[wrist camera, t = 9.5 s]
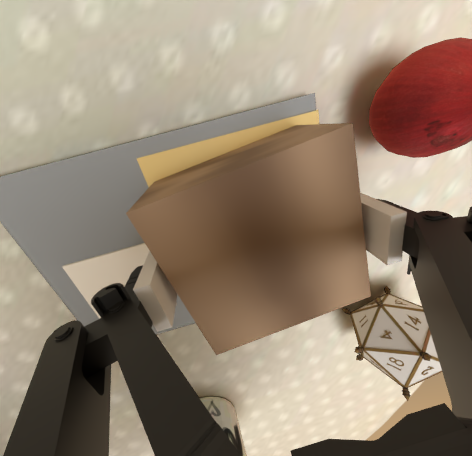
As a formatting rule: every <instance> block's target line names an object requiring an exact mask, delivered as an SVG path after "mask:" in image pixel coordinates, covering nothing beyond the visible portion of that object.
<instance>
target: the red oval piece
mask: <svg viewBox="0 0 472 456" xmlns="http://www.w3.org/2000/svg"><path fill="white" fill-rule="evenodd" d="M369 125H370V128H371V131H372V134H373V136H374V137H375V139H376V140H377V141H378V142H379V143H380V144H381V145H382V146H383V147H384V148H385V149H386V150H387V151H389V152H392V153H395V154H398V155H404V156H409V157H428V156H432V155H436V154H440V153H443V152H446V151H449V150H452V149H455V148H458V147H460V146H462V145H464V144H467V143H468V142H470V141H471V140H472V39H466V38H455V39H449V40H444V41H441V42H438V43H435V44H432V45H429V46H426V47H424V48H422V49H420V50H418V51H416V52H414V53H412V54H411V55H410V56H408V57H407V58H406V59H404V60H403V61H402V62H401V63H399V64H398V65H397V66H396V67H394V68H393V69H392V71H391V72H390V73H389V75H388V76H387V77H386V79H385V80H384V82H383V83H382V84H381V86H380V87H379V88H378V90H377V91H376V93H375V96H374V98H373V101H372V104H371V106H370V113H369Z"/></svg>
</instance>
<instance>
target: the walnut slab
mask: <svg viewBox="0 0 472 456" xmlns="http://www.w3.org/2000/svg"><path fill="white" fill-rule="evenodd" d="M126 214H127V216H128V218H129V219H130V221H131V222H132V224H133V225H134V227H135V228H136V230H137V232H138V233H139V235H140V236H141V238H142V239H143V241H144V243H145V244H146V246H147V247H148V249H149V250H150V252H151V254H152V255H153V257H154V258H155V260H156V261H157V263H158V264H159V266H160V268H161V269H162V271H163V272H164V274H165V275H166V277H167V279H168V280H169V282H170V283H171V285H172V286H173V288H174V289H175V291H176V293H177V294H178V296H179V297H180V299H181V300H182V302H183V304H184V305H185V307H186V308H187V310H188V311H189V313H190V315H191V316H192V318H193V319H194V321H195V322H196V324H197V325H198V327H199V329H200V330H201V332H202V333H203V335H204V336H205V338H206V340H207V341H208V343H209V344H210V346H211V347H212V349H213V350H214V352H215V354H216V355H218V354H220V353H223V352H226V351H228V350H231V349H234V348H236V347H239V346H241V345H244V344H247V343H249V342H252V341H255V340H257V339H260V338H263V337H265V336H268V335H270V334H273V333H276V332H278V331H281V330H284V329H286V328H289V327H292V326H294V325H297V324H300V323H302V322H305V321H307V320H310V319H313V318H315V317H318V316H321V315H323V314H326V313H329V312H331V311H334V310H336V309H339V308H342V307H344V306H347V305H350V304H352V303H355V302H358V301H360V300H363V299H365V298H368V297H371V293H370V283H369V274H368V264H367V255H366V245H365V236H364V226H363V217H362V207H361V198H360V188H359V178H358V169H357V159H356V150H355V140H354V131H353V123H342V124H315V125H295V126H293V127H290V128H288V129H285V130H283V131H280V132H278V133H275V134H273V135H270V136H268V137H265V138H263V139H260V140H258V141H255V142H253V143H250V144H248V145H245V146H243V147H240V148H238V149H235V150H233V151H230V152H228V153H225V154H223V155H220V156H218V157H215V158H213V159H210V160H208V161H205V162H203V163H200V164H198V165H195V166H193V167H190V168H188V169H185V170H183V171H180V172H178V173H175V174H173V175H170V176H168V177H165V178H163V179H160V180H158V181H155V182H154V183H153V184H152V185H151V186H150V187H149V188H148V189H147V190H146V192H145V193H144V194H143V195H142V196H141V197H140V198H139V199H138V200H137V201H136V203H135V204H134V205H133V206H132V207H131V208H130V209H129V210H128V211H127V213H126Z"/></svg>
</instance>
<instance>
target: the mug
mask: <svg viewBox="0 0 472 456" xmlns="http://www.w3.org/2000/svg"><path fill="white" fill-rule="evenodd" d="M200 400H201V401H202V403H203V404H204V405H205V407H206V408H207V410H208V411H209V413H210V414H211V416H212V417H213V418H214V420H215V421H216V423H218V424H219V425H220V427H221V428H222V429H223V431H224V432H225V433H226V435H227V436H228V438H229V439H230V441H231V442H232V443H233V445H234V446H235V448H236V449H237V451H238V452H239V454H240V455H241V456H247V455H246V451H245V447H244V443H243V439H242V435H241V431H240V427H239V423H238V419H237V415H236V412H235V409H234V407H233V405H232V403H231V402H229V401H228V400H226V399H223V398H220V397H203V398H200Z"/></svg>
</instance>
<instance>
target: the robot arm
mask: <svg viewBox="0 0 472 456" xmlns="http://www.w3.org/2000/svg"><path fill="white" fill-rule="evenodd" d="M360 198H361V207H362V217H363V226H364V236H365V245H366V250H367V251H369V252H370V253H371V254H373V255H374V256H375V257H377V258H378V259H380V260H381V261H382V262H384V263H385V264H386V265H389V264H393V263H396V262H400V261H402V252H403V251H404V252H406V253H408V254H409V255H410V256H409V263H408V271H407V274H410V272H411V271H412V274H413V277H414V281H415V284H416V287H417V290H418V294H419V297H420V300H421V304H422V307H423V310H424V313H425V317H426V320H427V323H428V326H429V330H430V333H431V336H432V339H433V343H434V346H435V349H436V352H437V356H438V359H439V362H440V365H441V369H442V372H443V375H444V378H445V382H446V385H447V388H448V391H449V395H450V398H451V403H452V411H451V410H450V409H449V408H448V407H447V406H446V404H445V403H444V404H440V405H437V406H434V407H431V408H428V409H424V410H421V411H418V412H415V413H411V414H408V415H406V416H405V417H404V418H403V419H402V420H400V421H399V422H398V423H397V424H396V425H395V426H393V427H392V428H391V429H390V430H389V431H387V432H386V433H385V434H384V435H383V436H382V437H380V438H379V439H377V440H375V441H364V440H341V439H327V440H324V441H321V442H317V443H314V444H311V445H308V446H304V447H301V448H298V449H295V450H291V454H292V456H472V207H470V209H469V213H468V216H465V217H455V218H453V217H452V216H451V215H449V214H447V213H444V212H439V211H422V212H419V213H417V212H414V211H412V210H409V209H406V208H404V207H400V206H399V205H396V204H394V203H391V202H389V201H386V200H380V199H374V198H372V197H369V196H367V195H364V194H362V193H360ZM176 300H177V293H176V291H175V289H174V288H173V286H172V285H171V283H170V282H169V280H168V279H167V277H166V275H165V274H164V272H163V271H162V269H161V268H160V266H159V264H158V263H157V261H156V260H155V258H154V257H153V255H152V254H151V252H150V251H149V253H148V256H147V258H146V260H145V263H144V265H142V266H138V267H137V268H136V269H135V270H134V271H133V272H132V273H131V275H130V277H129V280H128V281H127V283H126V285H125V287H124V286H123V284H121V283H114V284H111V285H108V286H106V287H104V288H103V289H101V290H100V291H98V292H97V293H96V294H95V295H94V296H93V298H92V299H91V304H92V306H93V307H94V308H95V310H96V311H97V313H98V314H99V315H100V317H101V318H100V319H98V320H96V321H94V322H92V323H90V324H88V325H86V326H84V325H83V324H82V323H81V322H80V321H78V320H77V321H71V322H69V323H66V324H65V325H63V326H61V327H59V328H58V329H56V330H55V331H54V332H53V333H52V334H51V335H50V337H49V338H48V339H47V341H46V343H45V345H44V348H43V351H42V353H41V356H40V359H39V361H38V364H37V367H36V369H35V372H34V375H33V377H32V380H31V383H30V385H29V388H28V391H27V393H26V396H25V399H24V402H23V404H22V407H21V410H20V412H19V415H18V418H17V420H16V423H15V426H14V428H13V431H12V434H11V436H10V439H9V442H8V444H7V447H6V450H5V452H4V455H3V456H109V420H110V383H111V364H112V363H114V362H116V361H117V360H118V362H119V365H120V367H121V370H122V373H123V375H124V378H125V380H126V383H127V385H128V388H129V390H130V393H131V396H132V398H133V401H134V403H135V406H136V408H137V411H138V413H139V416H140V418H141V421H142V424H143V426H144V429H145V431H146V434H147V436H148V439H149V441H150V444H151V447H152V449H153V452H154V454H155V456H241V455H240V454H239V452H238V451H237V449H236V448H235V446H234V445H233V443H232V442H231V441H230V439H229V438H228V436H227V435H226V433H225V432H224V431H223V429H222V428H221V427H220V425H219V424H218V423H216V421H215V420H214V418H213V417H212V416H211V414H210V413H209V411H208V410H207V408H206V407H205V405H204V404H203V403H202V401H201V400H200V398H199V397H198V395H197V394H196V392H195V391H194V389H193V388H192V387H191V385H190V384H189V382H188V381H187V379H186V378H185V376H184V375H183V373H182V372H181V371H180V369H179V368H178V366H177V365H176V363H175V362H174V360H173V359H172V357H171V356H170V355H169V353H168V352H167V350H166V349H165V347H164V346H163V344H162V343H161V341H160V340H159V338H158V337H157V336H156V334H155V333H154V331H153V330H152V324H153V325H154V327H155V329H156V330H157V332H158V331H162V330H165V329H169V328H172V326H173V320H174V313H175V307H176Z"/></svg>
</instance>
